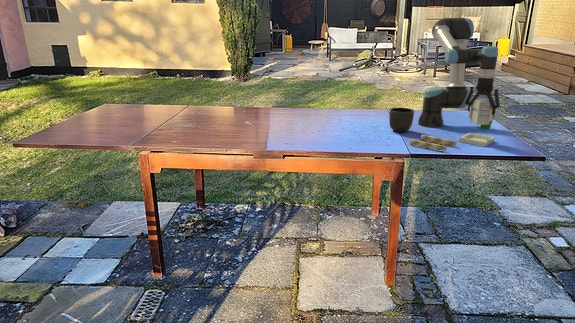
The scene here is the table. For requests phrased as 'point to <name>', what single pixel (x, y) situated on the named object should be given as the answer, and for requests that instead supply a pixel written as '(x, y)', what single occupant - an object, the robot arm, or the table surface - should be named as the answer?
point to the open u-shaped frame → (432, 140)
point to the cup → (487, 125)
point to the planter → (401, 119)
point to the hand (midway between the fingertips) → (480, 119)
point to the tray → (477, 139)
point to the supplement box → (480, 112)
